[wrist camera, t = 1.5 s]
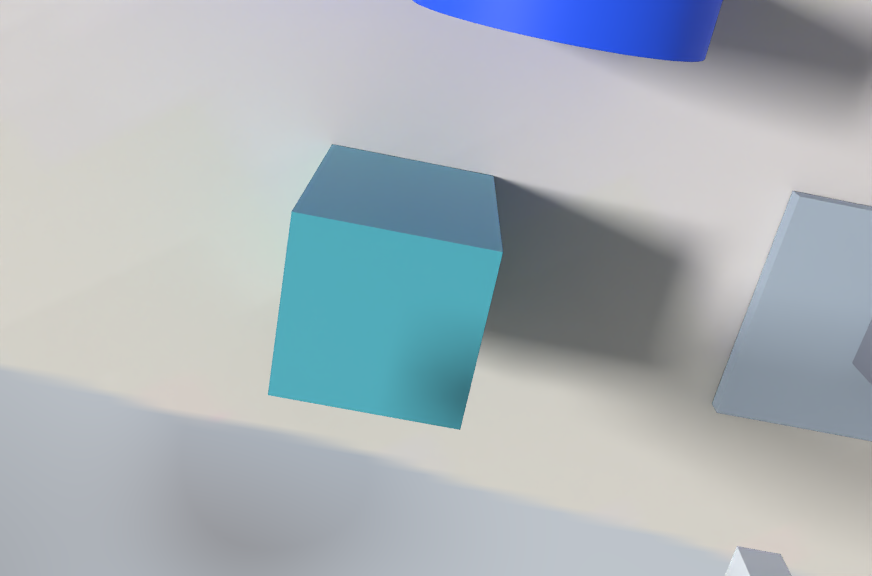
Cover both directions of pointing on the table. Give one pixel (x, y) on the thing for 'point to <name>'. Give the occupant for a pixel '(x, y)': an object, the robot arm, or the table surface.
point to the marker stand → (809, 325)
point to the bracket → (600, 23)
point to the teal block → (387, 287)
